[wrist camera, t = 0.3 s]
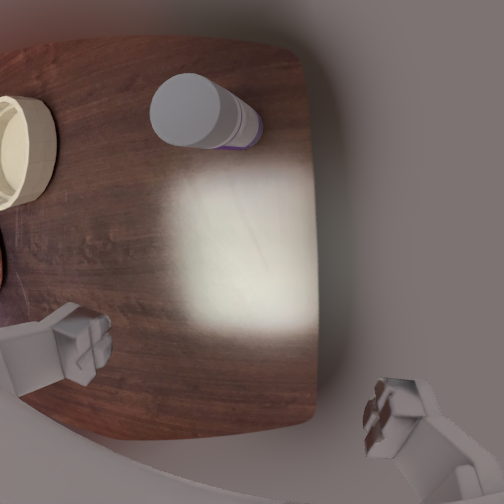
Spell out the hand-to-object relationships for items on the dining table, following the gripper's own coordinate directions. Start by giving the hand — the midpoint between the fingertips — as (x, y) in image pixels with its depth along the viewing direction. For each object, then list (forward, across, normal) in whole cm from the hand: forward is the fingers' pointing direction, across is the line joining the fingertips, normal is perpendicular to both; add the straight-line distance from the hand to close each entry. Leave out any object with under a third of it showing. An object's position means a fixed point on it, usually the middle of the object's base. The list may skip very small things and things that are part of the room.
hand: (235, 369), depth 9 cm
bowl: (+25, +38, -4) cm, 46 cm away
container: (+26, +6, -8) cm, 27 cm away
